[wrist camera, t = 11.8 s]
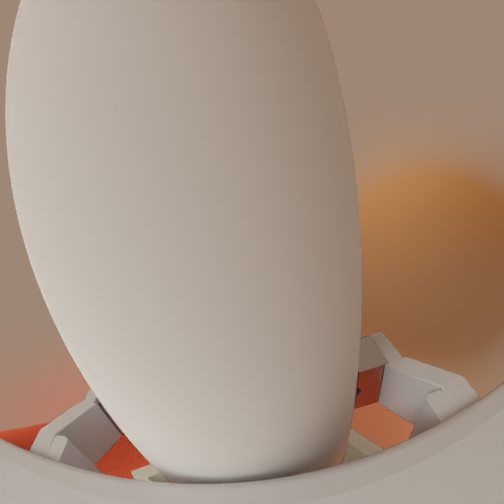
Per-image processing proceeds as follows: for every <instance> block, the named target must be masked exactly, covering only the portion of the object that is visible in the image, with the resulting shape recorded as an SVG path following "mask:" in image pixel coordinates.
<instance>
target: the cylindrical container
mask: <svg viewBox="0 0 504 504" xmlns="http://www.w3.org/2000/svg"><path fill="white" fill-rule="evenodd" d="M5 106H6V108H5V118H6V142H7V154H8V163H9V172H10V179H11V185H12V190H13V196H14V202H15V207H16V212H17V216H18V220H19V224H20V228H21V232H22V236H23V239H24V243H25V247H26V250H27V253H28V256H29V259H30V263H31V266H32V269H33V271H34V274H35V277H36V280H37V282H38V285H39V288H40V290H41V293H42V295H43V298H44V300H45V303H46V305H47V307H48V309H49V312H50V314H51V316H52V318H53V321H54V323H55V325H56V326H57V329H58V331H59V333H60V335H61V337H62V339H63V341H64V343H65V345H66V347H67V349H68V350H69V352H70V354H71V356H72V358H73V359H74V361H75V363H76V365H77V366H78V368H79V370H80V371H81V373H82V375H83V376H84V378H85V380H86V381H87V383H88V384H89V386H90V387H91V389H92V390H93V392H94V393H95V395H96V396H97V398H98V399H99V401H100V402H101V404H102V405H103V407H104V408H105V409H106V411H107V412H108V413H109V415H110V416H111V417H112V419H113V420H114V421H115V423H116V424H117V425H118V427H119V428H120V429H121V430H122V432H123V433H124V434H125V435H126V436H127V438H128V439H129V440H130V441H131V442H132V444H133V445H134V446H135V447H136V448H137V449H138V450H139V452H140V453H141V454H142V455H143V456H144V457H145V458H146V459H147V460H148V461H149V462H150V464H151V465H152V466H153V467H154V468H155V469H156V470H157V471H158V472H159V473H160V474H162V476H163V477H164V478H165V479H166V480H168V481H169V482H170V483H181V484H222V483H239V482H250V481H260V480H268V479H275V478H281V477H287V476H293V475H298V474H303V473H308V472H313V471H317V470H321V469H325V468H329V467H333V466H336V465H340V464H343V463H344V459H345V454H346V449H347V445H348V440H349V434H350V429H351V423H352V416H353V410H354V402H355V394H356V386H357V376H358V365H359V353H360V336H361V312H362V311H361V310H362V261H361V236H360V219H359V206H358V195H357V185H356V177H355V168H354V160H353V153H352V146H351V139H350V133H349V128H348V122H347V116H346V111H345V106H344V101H343V96H342V92H341V87H340V83H339V78H338V74H337V70H336V66H335V62H334V58H333V54H332V50H331V47H330V44H329V40H328V37H327V34H326V30H325V27H324V23H323V20H322V17H321V14H320V11H319V8H318V5H317V3H316V0H21V2H20V5H19V9H18V13H17V17H16V21H15V25H14V30H13V35H12V41H11V47H10V53H9V61H8V70H7V82H6V105H5Z"/></svg>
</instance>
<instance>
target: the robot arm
mask: <svg viewBox="0 0 504 504" xmlns="http://www.w3.org/2000/svg"><path fill="white" fill-rule="evenodd" d="M375 402H378V403H379V404H381V405H382V406H384V407H386V408H387V409H389V410H390V411H392V412H394V413H395V414H397V415H399V416H400V417H402V418H404V419H405V420H407V421H409V422H411V423H412V424H414V425H415V426H414V429H413V431H412V433H411V435H410V437H409V439H408V440H406V441H404V442H402V443H399V444H397V445H395V446H392V447H390V448H387V449H385V450H382V451H379V452H377V453H374V454H371V455H368V456H365V457H363V458H360V459H356V460H353V461H350V462H347V463H343V464H340V465H336V466H333V467H329V468H325V469H321V470H317V471H313V472H308V473H303V474H298V475H293V476H287V477H281V478H275V479H268V480H260V481H250V482H239V483H222V484H181V483H164V482H153V481H144V480H136V479H129V478H123V477H117V476H111V475H106V474H103V472H102V471H101V470H100V469H99V468H97V467H96V466H95V464H96V463H97V462H98V461H99V460H100V459H101V458H102V457H103V455H104V454H105V453H106V452H107V451H108V450H109V449H110V448H111V447H112V446H113V445H114V444H115V443H116V442H117V440H118V439H119V438H120V437H121V436H122V435H121V434H123V435H125V434H124V433H123V432H122V430H121V429H120V428H119V427H118V425H117V424H116V423H115V421H114V420H113V419H112V417H111V416H110V415H109V413H108V412H107V411H106V409H105V408H104V407H103V405H102V404H101V402H100V401H99V399H98V398H97V396H96V395H95V393H94V392H93V390H92V389H91V388H90V390H89V392H88V393H87V395H86V397H85V399H84V401H83V402H81V401H80V402H79V403H77V404H76V405H75V406H73V407H72V408H70V409H69V410H67V411H66V412H65V413H63V414H62V415H60V416H59V417H57V418H56V419H55V420H53V421H52V422H50V423H49V424H47V425H46V426H44V427H43V428H41V429H40V431H39V433H38V435H37V437H36V439H35V441H34V443H33V445H32V447H31V449H30V451H27V450H25V449H23V448H20V447H18V446H16V445H13V444H11V443H9V442H7V441H5V440H3V439H1V438H0V504H504V382H503V383H502V384H500V385H499V386H498V387H496V388H495V389H494V390H492V391H491V392H490V393H488V394H487V395H485V396H484V397H482V398H481V397H480V396H479V395H478V393H477V392H476V391H475V390H474V389H473V388H472V386H471V385H470V384H469V383H468V382H467V381H466V379H465V378H464V377H463V376H462V375H458V374H455V373H452V372H449V371H446V370H443V369H440V368H437V367H434V366H432V365H429V364H426V363H423V362H420V361H417V360H414V359H411V358H409V357H405V358H403V357H402V356H401V355H400V353H399V352H398V351H397V350H396V348H395V347H394V346H393V345H392V343H391V342H390V341H389V340H388V338H387V337H386V336H385V335H384V333H383V332H378V333H374V334H371V335H368V336H366V337H362V338H360V353H359V365H358V376H357V386H356V394H355V402H354V408H355V409H356V408H359V407H362V406H366V405H369V404H372V403H375Z"/></svg>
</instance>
